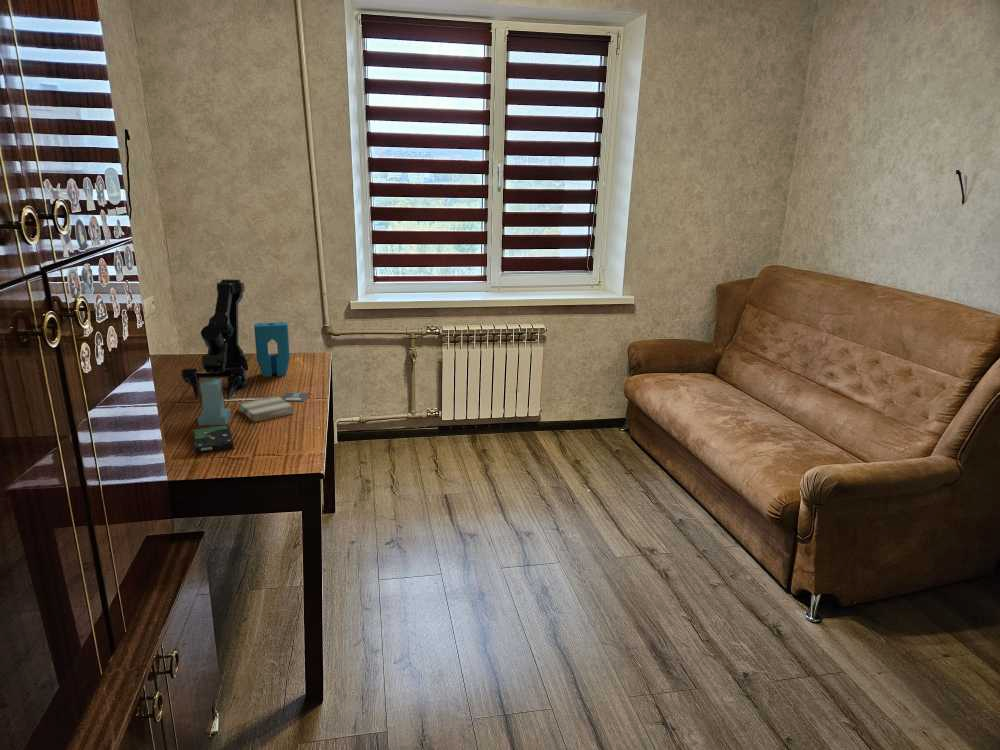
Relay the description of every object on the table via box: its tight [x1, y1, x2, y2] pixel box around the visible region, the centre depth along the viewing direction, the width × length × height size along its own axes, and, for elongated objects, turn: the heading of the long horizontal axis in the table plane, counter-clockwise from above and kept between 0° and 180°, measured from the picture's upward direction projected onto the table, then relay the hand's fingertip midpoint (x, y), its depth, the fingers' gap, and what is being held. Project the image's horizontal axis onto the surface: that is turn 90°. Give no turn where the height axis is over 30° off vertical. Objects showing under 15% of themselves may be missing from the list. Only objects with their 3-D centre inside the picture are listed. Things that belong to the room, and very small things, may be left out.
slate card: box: [281, 392, 310, 403], centre depth 234 cm, size 8×8×1 cm
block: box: [253, 321, 291, 378], centre depth 255 cm, size 12×5×20 cm, turn 109°
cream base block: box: [238, 395, 294, 423], centre depth 220 cm, size 13×13×3 cm
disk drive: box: [192, 423, 235, 455], centre depth 196 cm, size 10×3×15 cm
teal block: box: [197, 378, 232, 426], centre depth 210 cm, size 8×8×13 cm
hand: (212, 399), depth 209 cm, fingers open, 9 cm apart
